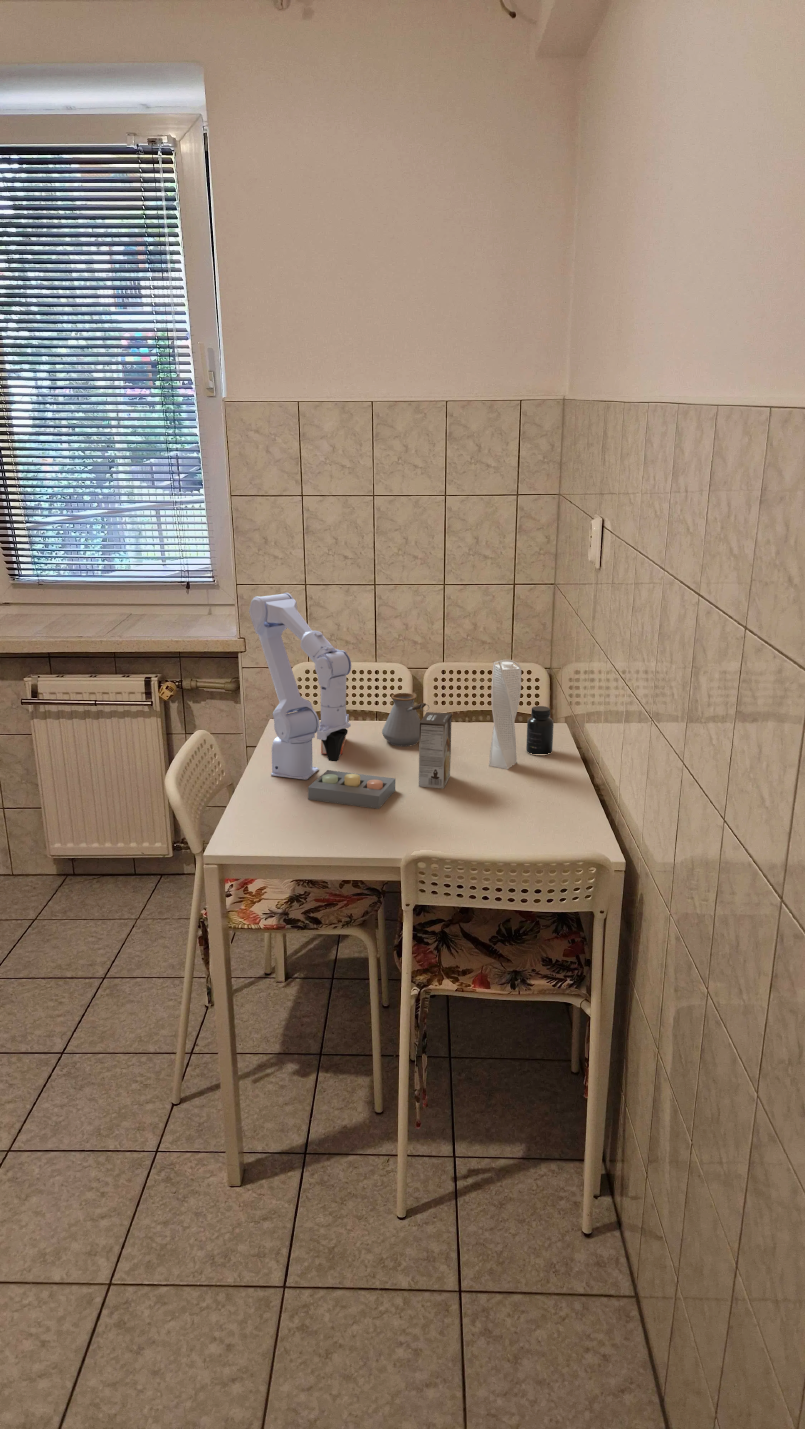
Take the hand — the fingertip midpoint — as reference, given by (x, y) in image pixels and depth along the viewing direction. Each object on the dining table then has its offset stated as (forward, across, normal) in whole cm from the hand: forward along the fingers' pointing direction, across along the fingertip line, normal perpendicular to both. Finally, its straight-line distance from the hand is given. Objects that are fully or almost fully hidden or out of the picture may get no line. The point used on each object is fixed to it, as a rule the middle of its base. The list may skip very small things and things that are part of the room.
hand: (333, 760), depth 232 cm
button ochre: (+6, -2, -5) cm, 8 cm away
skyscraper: (+7, +31, -33) cm, 46 cm away
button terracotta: (+7, -2, -11) cm, 13 cm away
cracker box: (+8, +29, +12) cm, 32 cm away
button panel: (+7, -2, -5) cm, 9 cm away
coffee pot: (+8, +35, -7) cm, 37 cm away
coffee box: (+7, +14, -21) cm, 26 cm away
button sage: (+7, -2, 0) cm, 7 cm away
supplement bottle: (+7, +44, -40) cm, 60 cm away
